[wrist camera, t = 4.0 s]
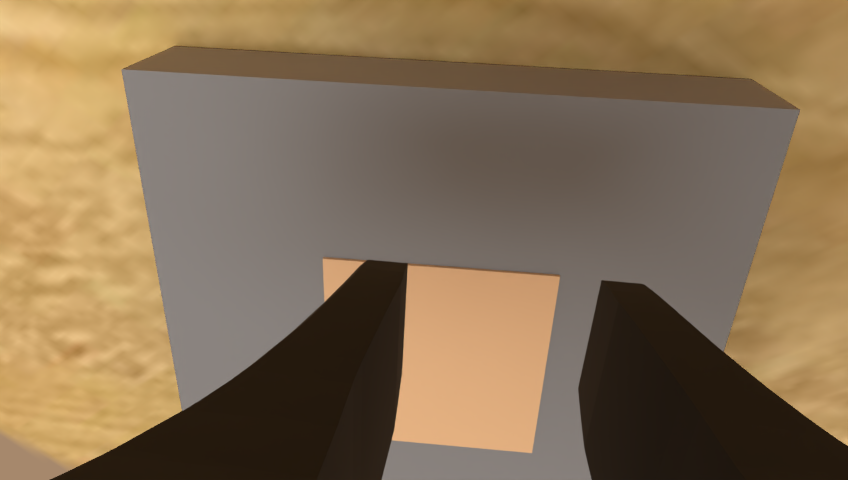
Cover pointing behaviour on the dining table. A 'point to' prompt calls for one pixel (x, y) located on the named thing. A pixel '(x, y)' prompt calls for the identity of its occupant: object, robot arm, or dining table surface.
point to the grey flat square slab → (447, 223)
